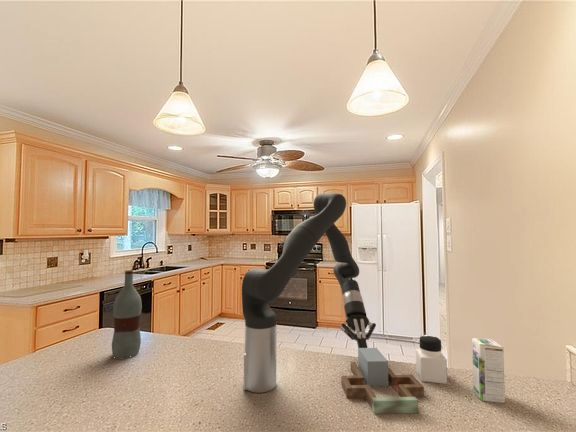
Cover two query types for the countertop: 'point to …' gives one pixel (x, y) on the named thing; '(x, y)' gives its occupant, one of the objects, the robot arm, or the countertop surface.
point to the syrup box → (488, 370)
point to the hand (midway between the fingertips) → (363, 350)
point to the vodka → (127, 320)
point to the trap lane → (405, 403)
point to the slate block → (373, 366)
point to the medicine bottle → (431, 360)
